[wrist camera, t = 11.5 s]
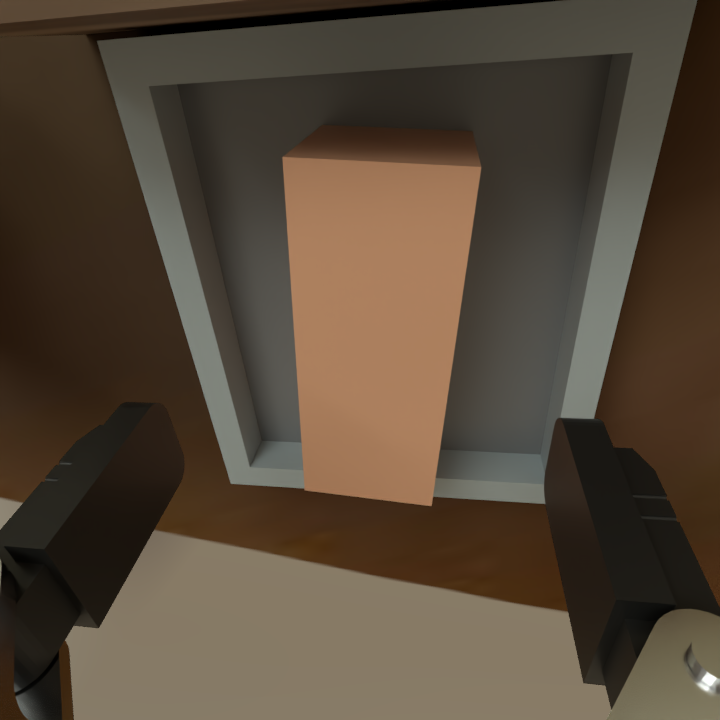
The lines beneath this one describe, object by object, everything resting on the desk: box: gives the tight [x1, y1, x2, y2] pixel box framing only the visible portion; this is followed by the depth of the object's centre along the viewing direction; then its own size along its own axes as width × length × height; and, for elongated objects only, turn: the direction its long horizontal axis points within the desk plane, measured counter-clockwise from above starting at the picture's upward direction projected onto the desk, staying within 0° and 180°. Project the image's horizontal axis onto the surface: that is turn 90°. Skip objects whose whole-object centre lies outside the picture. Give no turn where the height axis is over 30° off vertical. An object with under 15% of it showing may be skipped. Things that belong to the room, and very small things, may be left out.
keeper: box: [97, 0, 697, 504], centre depth 16 cm, size 15×13×2 cm
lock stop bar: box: [282, 125, 481, 506], centre depth 14 cm, size 10×4×4 cm, turn 179°
